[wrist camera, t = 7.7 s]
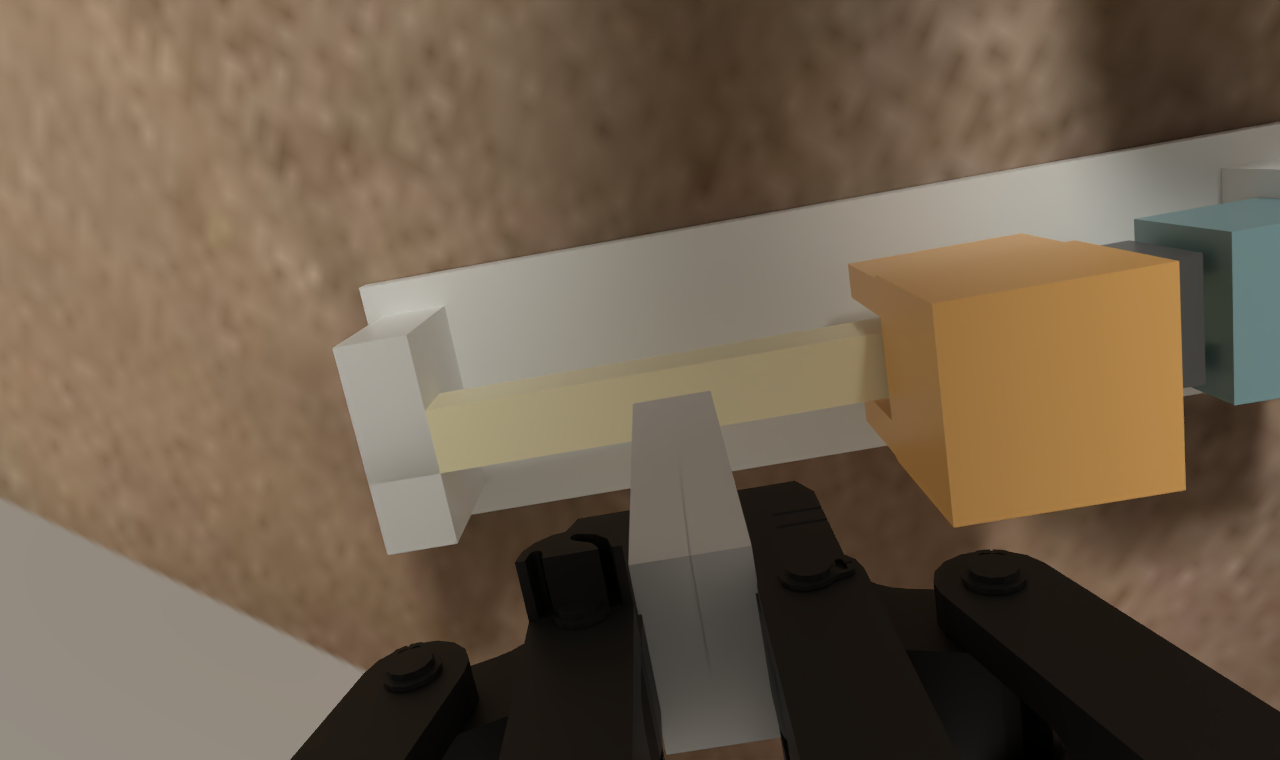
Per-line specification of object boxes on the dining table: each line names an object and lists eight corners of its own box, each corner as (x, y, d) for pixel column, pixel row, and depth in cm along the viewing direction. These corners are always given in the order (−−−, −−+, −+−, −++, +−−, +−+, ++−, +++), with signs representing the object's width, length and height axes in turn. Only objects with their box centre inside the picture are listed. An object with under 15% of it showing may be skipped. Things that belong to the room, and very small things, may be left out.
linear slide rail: (366, 284, 29) (284, 323, 22) (1287, 119, 27) (1491, 109, 21) (424, 514, 31) (365, 613, 24) (1287, 370, 29) (1475, 433, 23)
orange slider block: (847, 260, 26) (931, 303, 18) (1021, 229, 26) (1179, 261, 18) (866, 424, 27) (953, 527, 19) (1033, 396, 27) (1185, 490, 19)
